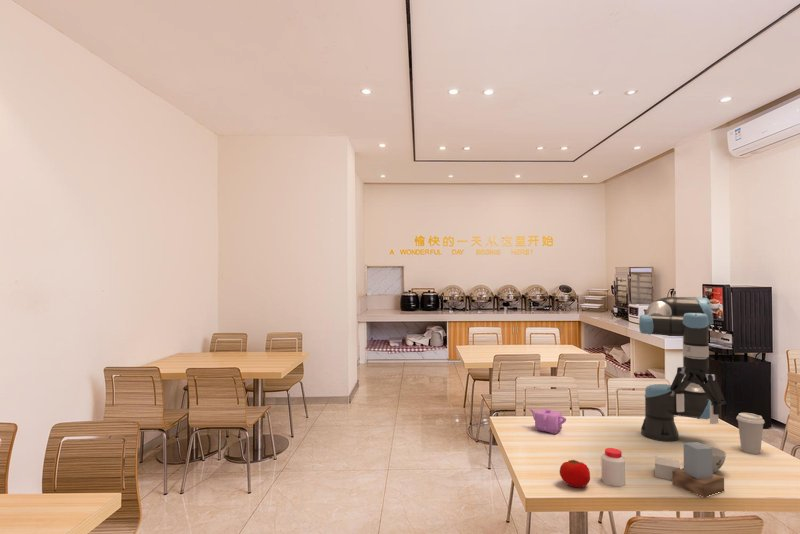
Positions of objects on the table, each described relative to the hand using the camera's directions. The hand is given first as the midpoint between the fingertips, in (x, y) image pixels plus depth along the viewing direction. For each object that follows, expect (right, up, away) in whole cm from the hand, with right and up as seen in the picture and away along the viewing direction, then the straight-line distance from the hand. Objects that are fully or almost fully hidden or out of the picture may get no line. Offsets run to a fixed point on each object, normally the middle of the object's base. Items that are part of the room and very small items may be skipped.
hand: (696, 417), depth 161 cm
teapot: (-34, -25, +58) cm, 72 cm away
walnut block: (-1, -24, -2) cm, 24 cm away
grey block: (-5, -24, +9) cm, 26 cm away
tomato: (-43, -24, 0) cm, 49 cm away
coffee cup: (+44, -25, +32) cm, 60 cm away
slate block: (-1, -19, -2) cm, 19 cm away
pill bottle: (-28, -24, +3) cm, 37 cm away
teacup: (+11, -25, +14) cm, 30 cm away
